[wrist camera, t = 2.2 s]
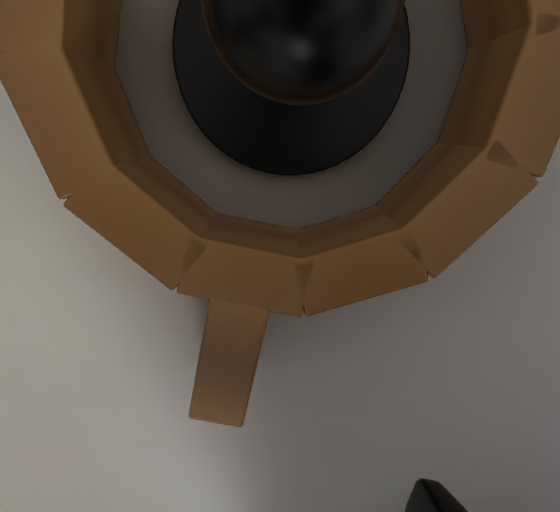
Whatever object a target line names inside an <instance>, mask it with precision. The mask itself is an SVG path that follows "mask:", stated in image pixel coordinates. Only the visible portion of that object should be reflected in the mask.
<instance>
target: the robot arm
mask: <svg viewBox="0 0 560 512" xmlns="http://www.w3.org/2000/svg"><path fill="white" fill-rule="evenodd" d="M405 512H468V511H467V510H466V509H465V508H464V507H463V506H462V505H461V504H460V503H459V502H458V501H457V500H456V499H455V498H454V497H453V496H452V495H451V494H450V493H449V491H448V490H447V489H446V488H445V487H444V486H443V485H442V484H441V483H439V482H438V481H434V480H429V479H423V478H421V479H418V480H417V482H416V483H415V486H414V488H413V491H412V493H411V495H410V498H409V500H408V503H407V505H406V509H405Z"/></svg>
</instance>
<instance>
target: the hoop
mask: <svg viewBox="0 0 560 512" xmlns="http://www.w3.org/2000/svg"><path fill="white" fill-rule="evenodd" d="M120 4H121V0H0V80H1V82H2V84H3V86H4V88H5V90H6V92H7V94H8V96H9V98H10V100H11V102H12V104H13V106H14V108H15V110H16V112H17V114H18V116H19V118H20V120H21V122H22V125H23V127H24V129H25V131H26V133H27V135H28V137H29V139H30V141H31V143H32V145H33V147H34V149H35V151H36V153H37V155H38V157H39V159H40V161H41V163H42V165H43V167H44V170H45V172H46V174H47V176H48V178H49V180H50V182H51V184H52V186H53V188H54V190H55V192H56V194H57V196H58V197H59V199H66V198H68V199H67V200H66V202H65V203H64V207H66V208H67V209H68V210H69V211H71V212H72V213H73V214H74V215H76V216H77V217H78V218H80V219H81V220H82V221H83V222H85V223H86V224H87V225H89V226H90V227H91V228H92V229H94V230H95V231H96V232H97V233H99V234H100V235H101V236H103V237H104V238H105V239H106V240H108V241H109V242H110V243H112V244H113V245H114V246H115V247H117V248H118V249H119V250H120V251H122V252H123V253H124V254H126V255H127V256H128V257H129V258H131V259H132V260H133V261H135V262H136V263H137V264H138V265H140V266H141V267H142V268H143V269H145V270H146V271H147V272H149V273H150V274H151V275H152V276H154V277H155V278H156V279H158V280H159V281H160V282H161V283H163V284H164V285H165V286H166V287H168V288H169V289H170V290H173V289H174V288H175V287H176V286H177V285H178V287H177V293H179V294H185V295H190V296H195V297H200V298H205V299H209V304H208V309H207V315H206V320H205V326H204V331H203V337H202V342H201V348H200V354H199V359H198V365H197V370H196V376H195V381H194V387H193V392H192V398H191V404H190V409H189V418H191V419H196V420H202V421H208V422H213V423H219V424H225V425H231V426H236V427H242V425H243V423H244V419H245V414H246V410H247V406H248V402H249V397H250V393H251V389H252V384H253V380H254V376H255V371H256V367H257V363H258V358H259V354H260V350H261V346H262V341H263V337H264V333H265V328H266V324H267V320H268V315H269V311H271V312H276V313H281V314H286V315H291V316H296V317H301V316H302V312H303V309H304V312H305V314H306V315H307V316H310V315H313V314H317V313H320V312H324V311H327V310H331V309H334V308H338V307H341V306H344V305H348V304H351V303H355V302H358V301H362V300H365V299H369V298H372V297H376V296H379V295H383V294H386V293H390V292H393V291H396V290H400V289H403V288H407V287H410V286H414V285H417V284H421V283H424V282H427V281H428V275H427V273H428V274H429V275H430V276H431V277H433V278H435V277H437V276H438V275H439V274H440V273H441V272H442V271H443V270H444V269H445V268H447V267H448V266H449V265H450V264H451V263H452V262H453V261H454V260H455V259H456V258H458V257H459V256H460V255H461V254H462V253H463V252H464V251H465V250H466V249H467V248H468V247H470V246H471V245H472V244H473V243H474V242H475V241H476V240H477V239H478V238H479V237H481V236H482V235H483V234H484V233H485V232H486V231H487V230H488V229H489V228H490V227H492V226H493V225H494V224H495V223H496V222H497V221H498V220H499V219H500V218H501V217H503V216H504V215H505V214H506V213H507V212H508V211H509V210H510V209H511V208H512V207H513V206H515V205H516V204H517V203H518V202H519V201H520V200H521V199H522V198H523V197H524V196H526V195H527V194H528V193H529V192H530V191H531V190H532V189H533V188H534V187H535V186H537V185H538V181H537V180H536V179H535V178H534V177H541V176H543V175H544V173H545V170H546V168H547V165H548V163H549V161H550V158H551V156H552V153H553V151H554V148H555V146H556V144H557V141H558V139H559V136H560V0H461V5H462V11H463V18H464V24H465V30H466V37H467V43H468V53H467V56H466V59H465V62H464V65H463V68H462V71H461V74H460V77H459V80H458V83H457V86H456V89H455V93H454V96H453V99H452V102H451V105H450V108H449V111H448V114H447V117H446V120H445V123H444V126H443V129H442V132H441V135H440V138H439V141H438V143H437V144H436V145H435V146H434V147H433V148H432V149H431V150H430V151H429V152H428V153H427V154H426V155H425V156H424V157H423V158H422V159H421V160H420V161H419V162H418V163H417V164H416V165H415V166H414V167H413V168H412V169H411V170H410V171H409V172H408V173H407V174H406V175H405V176H404V177H403V178H402V179H401V180H400V181H399V182H398V183H397V184H396V185H395V186H394V187H393V188H392V189H391V190H390V191H389V192H388V193H387V194H386V195H385V196H384V197H383V198H382V199H381V200H380V201H379V202H378V203H377V204H376V205H375V206H374V207H370V208H367V209H364V210H361V211H358V212H354V213H351V214H348V215H345V216H341V217H338V218H335V219H332V220H328V221H325V222H322V223H319V224H315V225H312V226H309V227H306V228H302V229H299V230H294V229H290V228H285V227H280V226H276V225H271V224H266V223H262V222H257V221H252V220H247V219H243V218H238V217H233V216H229V215H224V214H219V213H216V212H215V211H214V210H213V209H212V208H211V207H209V206H208V205H207V204H206V203H205V202H204V201H202V200H201V199H200V198H199V197H198V196H197V195H195V194H194V193H193V192H192V191H191V190H190V189H188V188H187V187H186V186H185V185H184V184H183V183H181V182H180V181H179V180H178V179H177V178H176V177H174V176H173V175H172V174H171V173H170V172H169V171H167V170H166V169H165V168H164V167H163V166H162V165H160V164H159V163H158V162H157V161H156V160H155V159H153V158H152V157H151V156H150V154H149V151H148V149H147V146H146V144H145V141H144V139H143V136H142V134H141V131H140V129H139V127H138V124H137V122H136V119H135V117H134V114H133V112H132V109H131V107H130V104H129V102H128V99H127V97H126V94H125V92H124V90H123V87H122V85H121V82H120V80H119V77H118V75H117V72H116V70H115V62H116V50H117V39H118V27H119V15H120ZM533 176H534V177H533Z"/></svg>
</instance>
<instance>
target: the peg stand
mask: <svg viewBox="0 0 560 512" xmlns="http://www.w3.org/2000/svg"><path fill="white" fill-rule="evenodd" d="M404 2H405V0H180V1H179V4H178V7H177V11H176V16H175V21H174V27H173V42H172V47H173V63H174V68H175V74H176V79H177V83H178V86H179V89H180V93H181V95H182V98H183V100H184V102H185V105H186V107H187V109H188V111H189V113H190V114H191V116H192V118H193V119H194V121H195V123H196V124H197V126H198V127H199V128H200V129H201V131H202V132H203V133H204V135H205V136H206V137H207V138H208V139H209V140H210V141H211V142H212V143H213V144H214V145H215V146H216V147H217V148H218V149H220V150H221V151H222V152H223V153H225V154H226V155H227V156H229V157H230V158H232V159H234V160H235V161H237V162H239V163H240V164H243V165H245V166H247V167H250V168H252V169H254V170H258V171H261V172H265V173H269V174H276V175H290V176H296V175H305V174H311V173H315V172H319V171H323V170H326V169H328V168H331V167H334V166H336V165H338V164H340V163H342V162H344V161H345V160H347V159H349V158H351V157H352V156H353V155H355V154H356V153H357V152H359V151H360V150H362V149H363V148H364V147H365V146H366V145H367V144H368V143H369V142H370V141H371V140H372V139H373V138H374V137H375V136H376V135H377V133H378V132H379V131H380V130H381V129H382V127H383V126H384V125H385V123H386V121H387V120H388V118H389V117H390V115H391V114H392V112H393V110H394V108H395V106H396V104H397V102H398V100H399V97H400V94H401V91H402V88H403V86H404V83H405V78H406V74H407V69H408V63H409V53H410V31H409V24H408V16H407V12H406V8H405V4H404Z"/></svg>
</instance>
